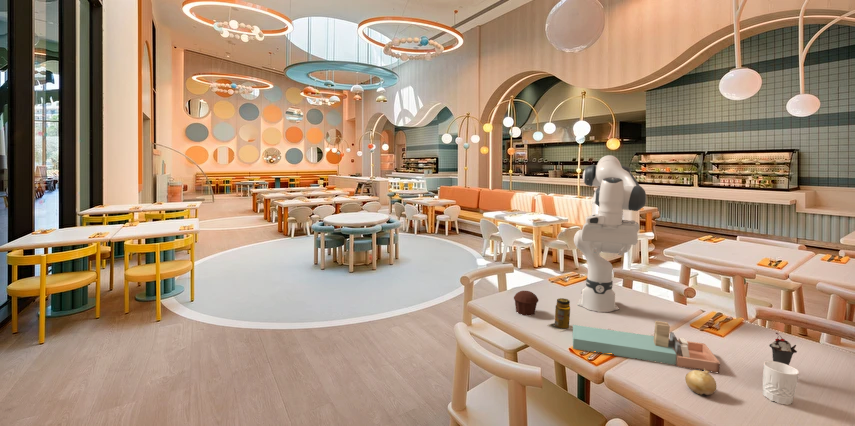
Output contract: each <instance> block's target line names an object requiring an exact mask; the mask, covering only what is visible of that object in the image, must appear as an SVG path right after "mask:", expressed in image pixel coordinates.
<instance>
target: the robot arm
mask: <svg viewBox="0 0 855 426" xmlns="http://www.w3.org/2000/svg"><path fill="white" fill-rule="evenodd" d="M582 180H583V184H585V185H586V186H589V187H596V188H595V189H594V193H593V196H592V204H591V215H588V216H586V217H585V222H584V224H583V225H582V229H578V230H577V231H576V232H575V234H574V235H573V236H574V237H573V244H574V245H575V247H576V249H578V250H579V251H580V252H581V253H582V254H583V256H584V257H585V260H586V263H587V277H586V280H585V285H586V286H585V287H584V288H583V289H581V290H580V291H581V292H580V294H581V296H580V297H579V300H578V301H577V303H576V304H577V306H580V307H583V308H584V309H587V310H590V311H593V312H598V313H599V312H600V313H609V312H613V311H618V310H619V306H618V305H617V304H616V292H615V291H614V290H613V285H614V284H613V283H614V282H613V269H614V268H613V265H612V263H611V262H610V261H609V260H607V259H606V258H603V257H602V256H601V255H600V253H607V254H618V255H619V256H624V254H625V253H628V252H629V251H630V250H631V248H632V246H636V245H637V244H638V242H639V241H638V239H639V238H638V237H639V236H638V232H639V230H640V224H639V222H637V221H635V220H629V219H628V220H627V219H623V217H624V216H623V215H624V210H625V211H633V212H638V211H639V210H641V209H642V208H644V207H645V205H646V203H647V193H646V190H645V189H644V188H643V187H642V186H641V185H640V184H639V182H638V181H637V179H636V178H635V175H633V174H632V172H631V168H630V167H629V166H626V165H622V164H621V162H620V160H619V158H617V157H616V156H615V155H611V154H610V155H605V156H602V157H601V158H600V159H599V160H598V162H597V164H594V163H593V164H591V165H588V166H586V167H585V168H584V170H583V172H582Z"/></svg>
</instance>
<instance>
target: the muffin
mask: <svg viewBox="0 0 855 426" xmlns="http://www.w3.org/2000/svg"><path fill="white" fill-rule="evenodd" d="M513 300H514V305H515V312H516V313H517V312H518V313H517V314H518V315H521V314H522V315H521V316H529V315H531V316H534V315H535V314H536V309H537V304H538V303H539V298H538V296H537V295H536V294H535V293H534V292H532V291H529V290H521V291H518V292H516V293H515V294H514V296H513Z"/></svg>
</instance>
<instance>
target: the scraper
mask: <svg viewBox="0 0 855 426" xmlns="http://www.w3.org/2000/svg"><path fill="white" fill-rule="evenodd" d="M670 329H671V327H670V324H669V322H668V321H667V322H666V321H659V320H655V321H654V331H653V336H654V343H655V346H662V347H674V349H675V351H676V353H678V354H680V350H681V345H680V343H679V342H678V340H679V339H678V338H677V337H676V334H675V333H674V332H673V331H670ZM669 339H670V340H669Z"/></svg>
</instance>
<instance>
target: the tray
mask: <svg viewBox="0 0 855 426" xmlns="http://www.w3.org/2000/svg"><path fill="white" fill-rule="evenodd" d="M669 340H670V338H669ZM677 340H678V342H679V339H677ZM686 341H687V343H688V351H689V355H690V358H689V357H682V356H680V354H678V353H676V351H675V349H674V347H673V349H674V351H675V353H676V365H675V366H676V367H677V366H679V367H678V368H683V367H685V368H684V369H689V368H691V369H690V370H696V369H700V370H699V371H702V370H704V368H705V370H706V371H712V372H711V373H714V372H718V373H717V374H720V371H721V363H720V360H719V359H718V358H717V357H716V356H715V354H714V353H713V352H712V351H711V349H710V348H709V347H708V345H707V344H706V343H705V342H703V343H702V342H695V341H690V340H686Z"/></svg>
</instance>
